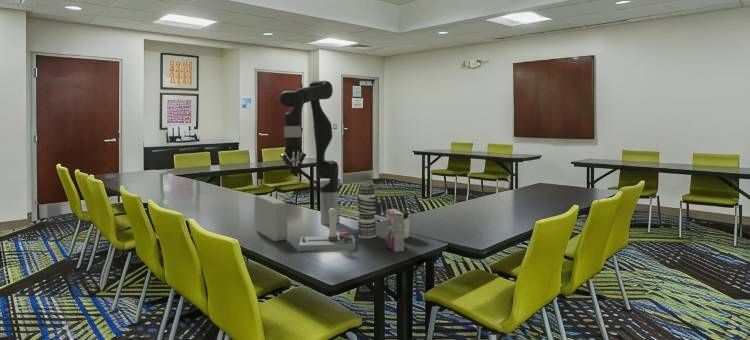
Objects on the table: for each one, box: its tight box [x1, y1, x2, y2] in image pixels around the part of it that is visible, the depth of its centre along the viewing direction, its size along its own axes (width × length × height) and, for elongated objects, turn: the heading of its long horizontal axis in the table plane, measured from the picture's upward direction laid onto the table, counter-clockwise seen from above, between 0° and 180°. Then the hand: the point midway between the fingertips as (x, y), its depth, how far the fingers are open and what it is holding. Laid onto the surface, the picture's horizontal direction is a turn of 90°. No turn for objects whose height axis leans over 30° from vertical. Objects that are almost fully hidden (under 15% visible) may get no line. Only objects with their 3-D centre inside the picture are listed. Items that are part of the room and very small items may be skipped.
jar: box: [397, 209, 410, 240], centre depth 222 cm, size 9×8×12 cm
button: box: [341, 231, 351, 237], centre depth 212 cm, size 4×4×2 cm
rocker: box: [338, 233, 353, 241], centre depth 204 cm, size 6×4×2 cm, turn 95°
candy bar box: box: [385, 208, 405, 253], centre depth 202 cm, size 11×5×16 cm, turn 17°
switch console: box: [298, 235, 356, 252], centre depth 208 cm, size 24×14×4 cm, turn 94°
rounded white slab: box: [254, 194, 288, 243], centre depth 226 cm, size 29×8×18 cm, turn 34°
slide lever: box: [327, 208, 339, 241], centre depth 207 cm, size 4×4×14 cm
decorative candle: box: [357, 183, 377, 239], centre depth 223 cm, size 9×9×25 cm
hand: (293, 174), depth 212 cm, fingers closed
